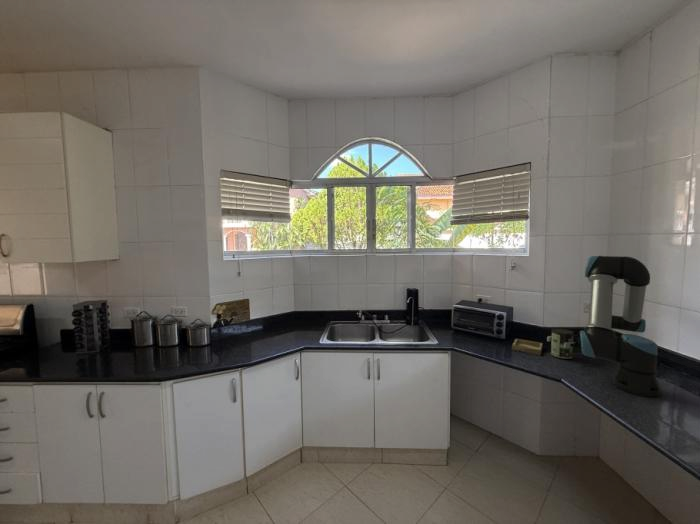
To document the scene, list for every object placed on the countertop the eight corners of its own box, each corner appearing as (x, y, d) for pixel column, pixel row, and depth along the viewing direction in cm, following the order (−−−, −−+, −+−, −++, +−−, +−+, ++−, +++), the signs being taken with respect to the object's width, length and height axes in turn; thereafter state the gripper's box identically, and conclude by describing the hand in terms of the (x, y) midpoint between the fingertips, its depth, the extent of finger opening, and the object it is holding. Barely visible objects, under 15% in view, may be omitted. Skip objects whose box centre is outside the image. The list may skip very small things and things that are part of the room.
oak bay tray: (540, 355, 172) (540, 350, 171) (512, 350, 180) (512, 345, 180) (542, 347, 183) (542, 343, 183) (515, 343, 192) (515, 338, 192)
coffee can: (575, 355, 169) (576, 331, 168) (569, 360, 163) (570, 335, 162) (553, 350, 177) (555, 327, 176) (547, 354, 171) (548, 330, 170)
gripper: (607, 352, 163) (574, 356, 158) (568, 338, 185) (538, 341, 180) (608, 338, 162) (575, 342, 157) (569, 326, 184) (539, 329, 179)
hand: (555, 342), depth 168 cm, fingers closed on coffee can, 10 cm apart
